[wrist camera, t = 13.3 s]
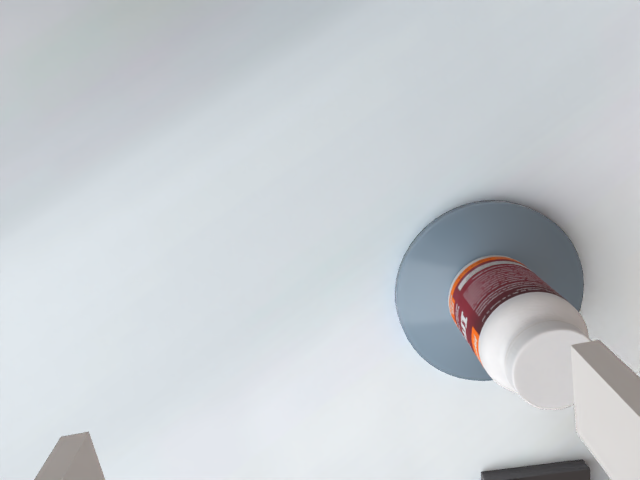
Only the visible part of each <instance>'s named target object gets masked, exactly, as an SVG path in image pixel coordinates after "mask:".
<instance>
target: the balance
mask: <svg viewBox="0 0 640 480" xmlns="http://www.w3.org/2000/svg"><path fill="white" fill-rule="evenodd" d="M481 480H590V469H589V467H588V466H587V465H586V463H585V462H584V461H583V460H575V461H567V462H559V463H551V464H543V465H535V466H527V467H519V468H511V469H503V470H494V471H486V472H481Z"/></svg>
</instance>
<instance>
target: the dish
mask: <svg viewBox="0 0 640 480" xmlns="http://www.w3.org/2000/svg"><path fill="white" fill-rule="evenodd" d="M490 255H501V256H506V257H510V258H512V259H515V260H517V261H519V262H520V263H522V264H524V265H525V266H526V267H527V268H529V269H530V270H531V271H532V272H533V273H535V274H536V275H537V276H538V277H539V278H541V279H542V280H543V281H544V282H545V283H547V284H548V285H549V286H550V287H551V288H552V289H554V290H555V291H556V292H557V293H558V294H560V295H561V296H562V297H563V298H564V299H566V300H567V301H568V302H569V303H570V304H571V305H572V306H573V307H574V308H575V309H576V310H577V311H578V312H579V310H580V307H581V303H582V298H583V286H584V283H583V272H582V267H581V262H580V259H579V257H578V254H577V251H576V250H575V248H574V246H573V244H572V242H571V241H570V239H569V238H568V237H567V235H566V234H565V233H564V232H563V231H562V230H561V229H560V228H559V227H558V226H557V225H556V224H555V223H554V222H552V221H551V220H550V219H548V218H547V217H545V216H543V215H541V214H540V213H538V212H536V211H534V210H532V209H530V208H528V207H525V206H522V205H520V204H516V203H511V202H507V201H495V200H493V201H480V202H474V203H469V204H466V205H463V206H460V207H457V208H455V209H453V210H450V211H448V212H446V213H444V214H443V215H441V216H440V217H438V218H436V219H435V220H434V221H433V222H431V223H430V224H429V225H428V226H426V227H425V228H424V229H423V230H422V231H421V232H420V233H419V234H418V236H417V237H416V238H415V239H414V241H413V242H412V243H411V245H410V246H409V248H408V250H407V251H406V253H405V255H404V257H403V259H402V262H401V264H400V267H399V271H398V274H397V278H396V286H395V303H396V309H397V314H398V317H399V320H400V323H401V325H402V328H403V330H404V332H405V334H406V336H407V339H408V340H409V342H410V343H411V345H412V346H413V348H414V349H415V350H416V351H417V353H418V354H419V355H420V356H421V357H422V358H423V359H424V360H426V361H427V362H428V363H429V364H431V365H432V366H434V367H435V368H437V369H438V370H440V371H442V372H445V373H447V374H449V375H452V376H455V377H458V378H462V379H468V380H478V381H487V380H493V379H492V378H491V377H490V376H489V375H488V373H487V372H486V370H485V369H484V367H483V366H482V364H481V362H480V361H479V359H478V358H477V356H476V355H475V353H474V352H473V350H472V348H471V347H470V345H469V344H468V342H467V341H466V339H465V338H464V336H463V334H462V333H461V332H460V330H459V329H458V327H457V326H456V324H455V322H454V320H453V318H452V316H451V314H450V311H449V306H448V295H449V290H450V287H451V284H452V282H453V280H454V278H455V277H456V275H457V274H458V273H459V271H460V270H461V269H462V268H463V267H465V266H466V265H467V264H469V263H470V262H472V261H474V260H476V259H478V258H481V257H484V256H490Z"/></svg>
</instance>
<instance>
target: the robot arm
mask: <svg viewBox="0 0 640 480" xmlns="http://www.w3.org/2000/svg"><path fill="white" fill-rule="evenodd" d="M571 360H572V376H573V392H574V408H575V424H576V433H577V435H578V436H579V437H580V439H581V440H582V441H583V443H584V444H585V445H586V447H587V448H588V449H589V451H590V452H591V453H592V455H593V456H594V457H595V459H596V460H597V461H598V463H599V464H600V465H601V467H602V468H603V469H604V471H605V472H606V473H607V475H608V476H609V477H610V479H611V480H640V377H638V376H637V375H636V374H635V373H634V372H633V371H632V370H631V369H630V368H629V367H628V366H627V365H626V364H624V363H623V362H622V361H621V360H620V359H619V358H618V357H617V356H616V355H615V354H614V353H613V352H612V351H610V350H609V349H608V348H607V347H606V346H605V345H604V344H603V343H602V342H601V341H600V340H595V341H590V342H584V343H579V344H573V345H571ZM34 480H105V478H104V475H103V472H102V469H101V466H100V463H99V460H98V457H97V455H96V452H95V449H94V446H93V443H92V440H91V437H90V434H89V432H85V433H79V434H74V435H68V436H63V437H61V438H60V439H59V441H58V442H57V444H56V446H55V447H54V449H53V450H52V452H51V454H50V455H49V457H48V458H47V460H46V462H45V463H44V465H43V467H42V468H41V470H40V471H39V473H38V475H37V476H36V478H35V479H34Z"/></svg>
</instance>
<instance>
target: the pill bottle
mask: <svg viewBox="0 0 640 480" xmlns="http://www.w3.org/2000/svg"><path fill="white" fill-rule="evenodd" d="M448 306H449V311H450V314H451V316H452V318H453V320H454V322H455V324H456V326H457V327H458V329H459V330H460V332H461V333H462V334H463V336H464V338H465V339H466V341H467V342H468V344H469V345H470V347H471V348H472V350H473V352H474V353H475V355H476V356H477V358H478V359H479V361H480V362H481V364H482V366H483V367H484V369H485V370H486V372H487V373H488V375H489V376H490V377H491V378H492V379H493V380H494V381H495V382H496V383H497V384H499V385H500V386H501V387H503V388H505V389H507V390H509V391H512V392H514V393H518V394H519V396H520V397H521V398H522V399H523V400H524V401H526V402H527V403H529V404H530V405H532V406H534V407H537V408H540V409H546V410H557V409H562V408H566V407H569V406H572V405H574V392H573V376H572V360H571V345H573V344H579V343H584V342H590V341H591V340H590V339H589V337H588V331H587V327H586V324H585V322H584V320H583V318H582V316H581V315H580V313H579V312H578V311H577V310H576V309H575V308H574V307H573V306H572V305H571V304H570V303H569V302H568V301H567V300H566V299H564V298H563V297H562V296H561V295H560V294H558V293H557V292H556V291H555V290H554V289H552V288H551V287H550V286H549V285H548V284H547V283H545V282H544V281H543V280H542V279H541V278H539V277H538V276H537V275H536V274H535V273H533V272H532V271H531V270H530V269H529V268H527V267H526V266H525V265H524V264H522V263H520V262H519V261H517V260H515V259H512V258H510V257H506V256H501V255H490V256H484V257H481V258H478V259H476V260H474V261H472V262H470V263H469V264H467V265H466V266H465V267H463V268H462V269H461V270H460V271H459V273H458V274H457V275H456V277H455V278H454V280H453V282H452V284H451V287H450V290H449V295H448Z"/></svg>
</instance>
